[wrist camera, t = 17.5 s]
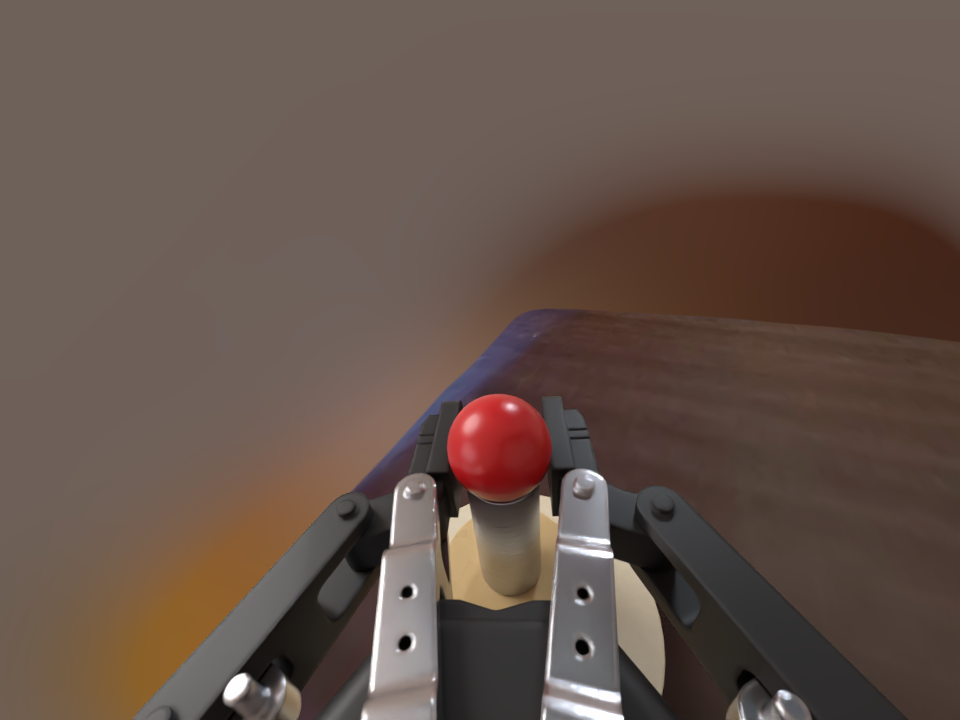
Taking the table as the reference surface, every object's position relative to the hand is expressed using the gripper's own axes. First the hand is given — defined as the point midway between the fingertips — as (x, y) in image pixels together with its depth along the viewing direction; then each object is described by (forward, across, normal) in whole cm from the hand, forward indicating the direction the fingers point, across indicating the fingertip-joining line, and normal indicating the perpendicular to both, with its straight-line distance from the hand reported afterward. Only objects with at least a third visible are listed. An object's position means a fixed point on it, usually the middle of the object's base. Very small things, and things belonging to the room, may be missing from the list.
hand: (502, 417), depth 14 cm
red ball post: (-3, 0, +6) cm, 7 cm away
